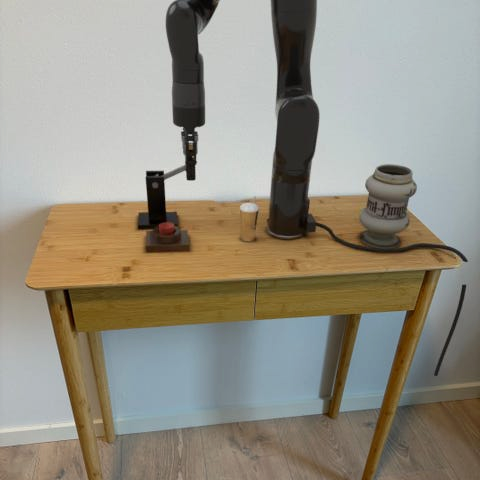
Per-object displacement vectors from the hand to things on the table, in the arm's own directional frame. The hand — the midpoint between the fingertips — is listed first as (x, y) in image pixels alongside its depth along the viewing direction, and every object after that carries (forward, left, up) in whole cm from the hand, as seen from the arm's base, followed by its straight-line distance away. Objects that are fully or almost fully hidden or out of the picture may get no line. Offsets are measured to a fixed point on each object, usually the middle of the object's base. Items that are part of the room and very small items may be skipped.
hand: (190, 175), depth 122 cm
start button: (+6, +13, -9) cm, 17 cm away
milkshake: (-14, +11, -13) cm, 21 cm away
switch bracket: (+9, 0, -12) cm, 15 cm away
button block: (+6, +13, -12) cm, 19 cm away
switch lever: (+4, 0, -1) cm, 4 cm away
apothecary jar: (-47, +14, -13) cm, 50 cm away
